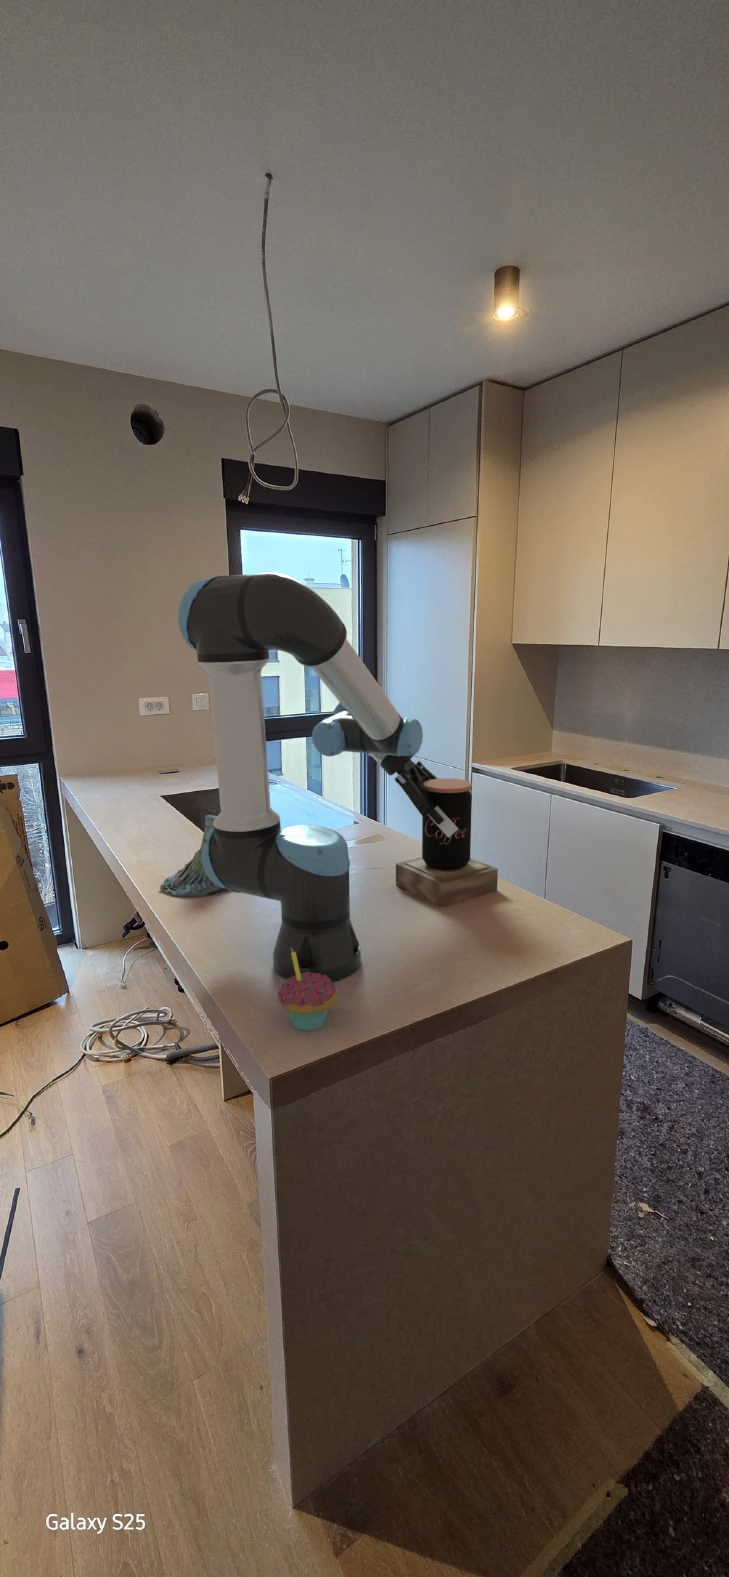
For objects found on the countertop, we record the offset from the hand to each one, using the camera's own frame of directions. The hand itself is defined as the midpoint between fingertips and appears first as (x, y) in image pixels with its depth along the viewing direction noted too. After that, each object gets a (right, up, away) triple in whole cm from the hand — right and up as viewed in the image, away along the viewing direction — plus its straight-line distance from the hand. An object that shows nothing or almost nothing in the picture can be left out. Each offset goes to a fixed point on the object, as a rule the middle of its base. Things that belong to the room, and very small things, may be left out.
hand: (459, 826), depth 143 cm
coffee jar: (-3, -8, +3) cm, 9 cm away
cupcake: (-29, -26, -47) cm, 61 cm away
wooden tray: (-2, -14, +4) cm, 15 cm away
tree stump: (-58, -14, +10) cm, 60 cm away
